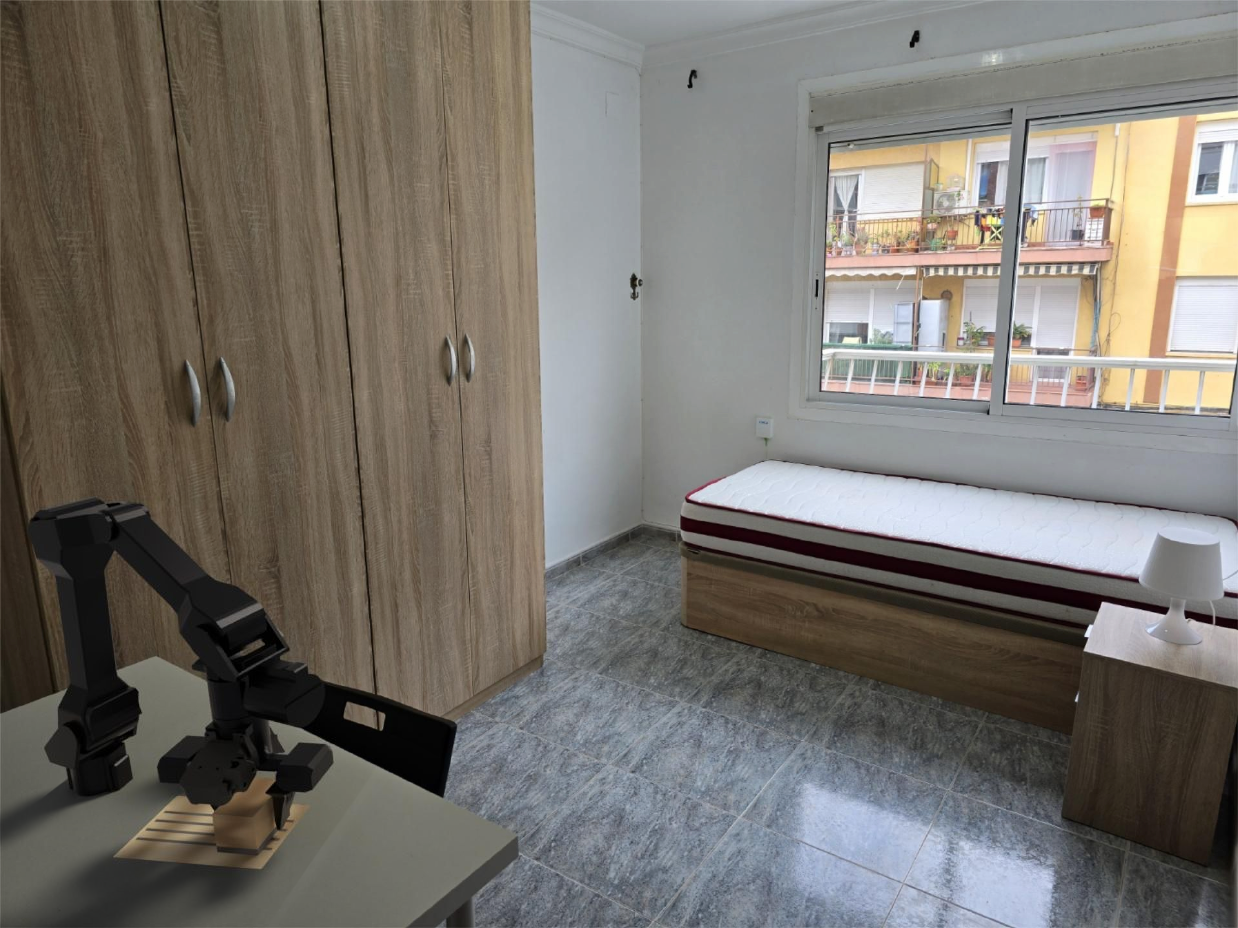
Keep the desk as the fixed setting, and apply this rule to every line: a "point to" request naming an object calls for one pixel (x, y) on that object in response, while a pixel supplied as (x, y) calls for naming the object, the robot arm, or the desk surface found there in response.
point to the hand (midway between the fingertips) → (254, 825)
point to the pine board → (196, 837)
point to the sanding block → (246, 820)
